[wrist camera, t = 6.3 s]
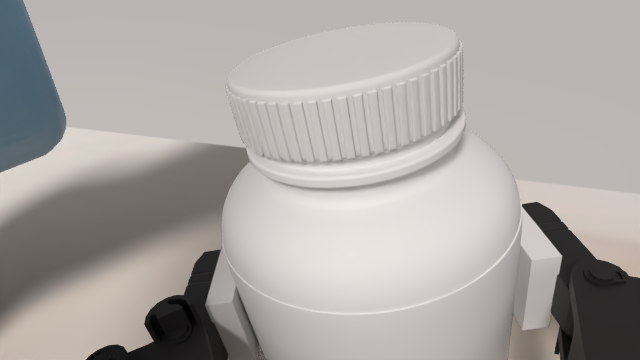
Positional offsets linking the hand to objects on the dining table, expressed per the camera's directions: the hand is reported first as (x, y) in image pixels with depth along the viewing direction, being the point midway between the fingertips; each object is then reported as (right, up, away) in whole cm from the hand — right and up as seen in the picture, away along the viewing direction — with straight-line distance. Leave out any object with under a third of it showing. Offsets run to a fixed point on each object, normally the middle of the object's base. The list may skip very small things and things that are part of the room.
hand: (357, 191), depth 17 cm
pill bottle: (+2, -9, 0) cm, 9 cm away
